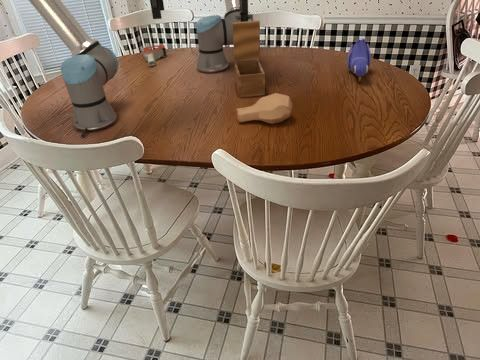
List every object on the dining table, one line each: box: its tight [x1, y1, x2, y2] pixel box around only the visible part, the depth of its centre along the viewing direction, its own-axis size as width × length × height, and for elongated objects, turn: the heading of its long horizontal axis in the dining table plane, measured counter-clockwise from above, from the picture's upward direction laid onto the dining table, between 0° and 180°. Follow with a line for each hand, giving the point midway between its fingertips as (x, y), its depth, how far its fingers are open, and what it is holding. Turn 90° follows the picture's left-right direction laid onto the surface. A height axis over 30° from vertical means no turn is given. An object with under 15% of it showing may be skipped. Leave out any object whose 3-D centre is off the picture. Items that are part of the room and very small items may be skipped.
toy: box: [346, 38, 372, 83], centre depth 153 cm, size 10×17×25 cm
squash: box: [236, 92, 293, 125], centre depth 125 cm, size 11×20×9 cm, turn 92°
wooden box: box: [233, 59, 266, 99], centre depth 149 cm, size 17×11×9 cm, turn 6°
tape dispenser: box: [140, 44, 167, 67], centre depth 190 cm, size 18×5×20 cm
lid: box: [232, 13, 261, 62], centre depth 149 cm, size 17×11×9 cm
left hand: (159, 14), depth 121 cm, fingers open, 13 cm apart
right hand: (244, 29), depth 148 cm, fingers closed on lid, 2 cm apart
